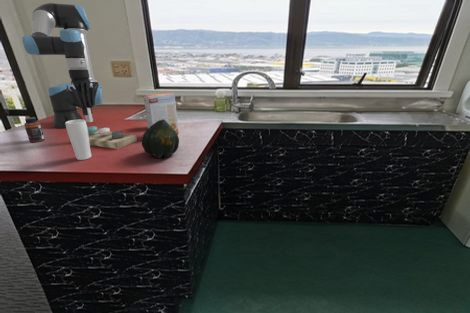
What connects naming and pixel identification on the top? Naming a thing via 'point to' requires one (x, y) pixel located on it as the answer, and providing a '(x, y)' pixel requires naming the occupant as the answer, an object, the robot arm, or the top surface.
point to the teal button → (92, 129)
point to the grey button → (117, 134)
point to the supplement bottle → (33, 130)
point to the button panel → (111, 140)
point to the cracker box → (161, 109)
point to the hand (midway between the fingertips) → (89, 121)
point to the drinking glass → (79, 138)
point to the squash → (160, 139)
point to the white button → (104, 131)
